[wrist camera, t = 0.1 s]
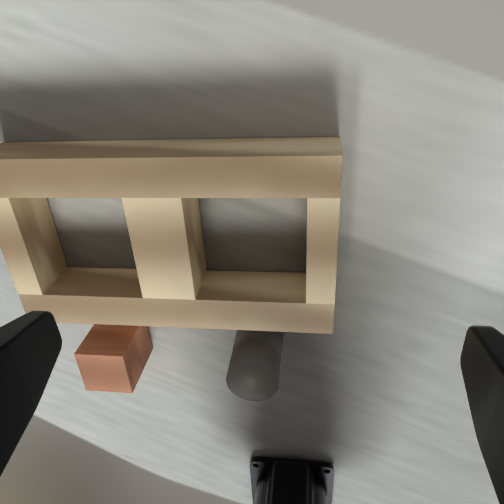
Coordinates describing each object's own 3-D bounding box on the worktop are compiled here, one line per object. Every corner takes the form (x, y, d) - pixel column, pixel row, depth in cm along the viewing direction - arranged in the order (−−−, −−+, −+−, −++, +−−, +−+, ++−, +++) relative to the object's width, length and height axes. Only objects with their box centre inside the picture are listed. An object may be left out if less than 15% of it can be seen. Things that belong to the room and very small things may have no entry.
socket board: (328, 356, 29) (330, 405, 25) (71, 344, 31) (41, 387, 28) (339, 136, 22) (343, 162, 18) (3, 142, 24) (-48, 166, 21)
